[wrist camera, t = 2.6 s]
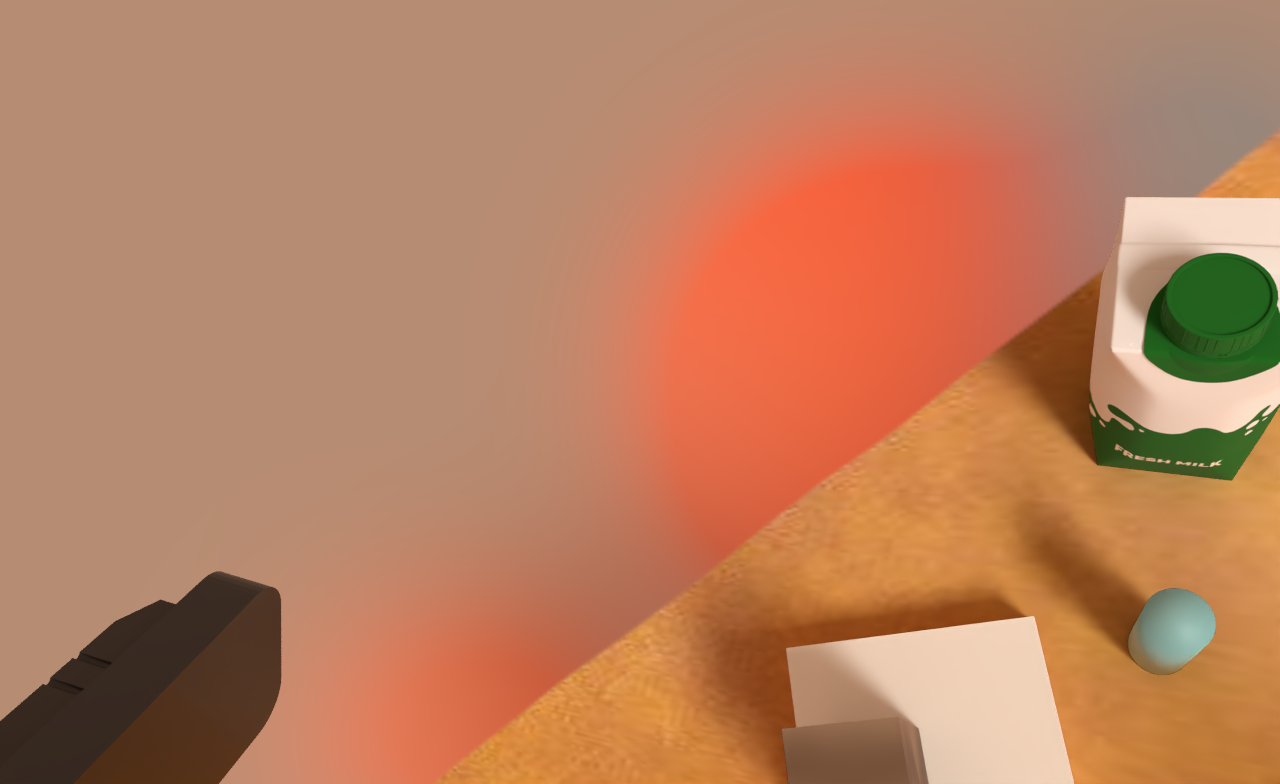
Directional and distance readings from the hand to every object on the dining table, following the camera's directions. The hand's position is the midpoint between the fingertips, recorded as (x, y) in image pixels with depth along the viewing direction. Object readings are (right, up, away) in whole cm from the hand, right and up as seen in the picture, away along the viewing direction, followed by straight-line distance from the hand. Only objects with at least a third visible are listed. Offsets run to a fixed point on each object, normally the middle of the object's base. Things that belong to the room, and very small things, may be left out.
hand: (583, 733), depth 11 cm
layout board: (+17, -18, +42) cm, 49 cm away
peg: (+29, -10, +41) cm, 51 cm away
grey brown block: (+14, -18, +41) cm, 46 cm away
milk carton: (+32, +3, +45) cm, 56 cm away
